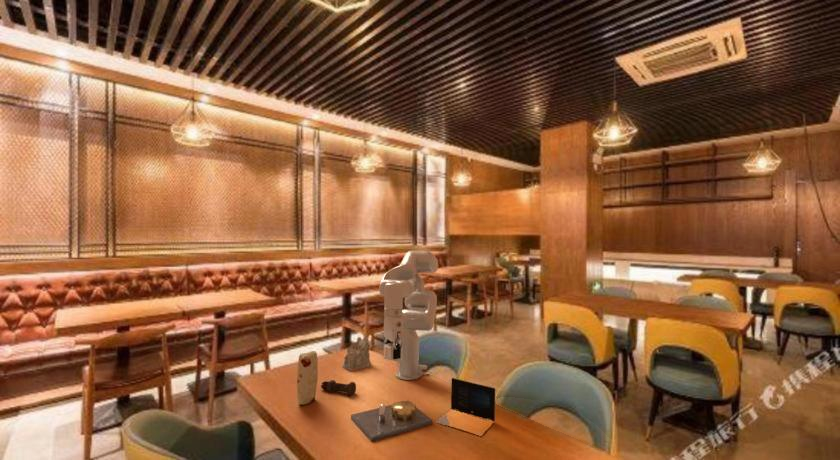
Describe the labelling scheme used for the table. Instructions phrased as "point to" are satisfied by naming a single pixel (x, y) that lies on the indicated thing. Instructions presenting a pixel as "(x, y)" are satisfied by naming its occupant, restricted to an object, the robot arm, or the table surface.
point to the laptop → (471, 400)
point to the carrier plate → (387, 422)
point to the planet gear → (389, 351)
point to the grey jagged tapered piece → (357, 355)
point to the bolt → (339, 387)
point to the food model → (307, 377)
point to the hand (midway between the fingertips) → (392, 355)
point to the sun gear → (403, 410)
